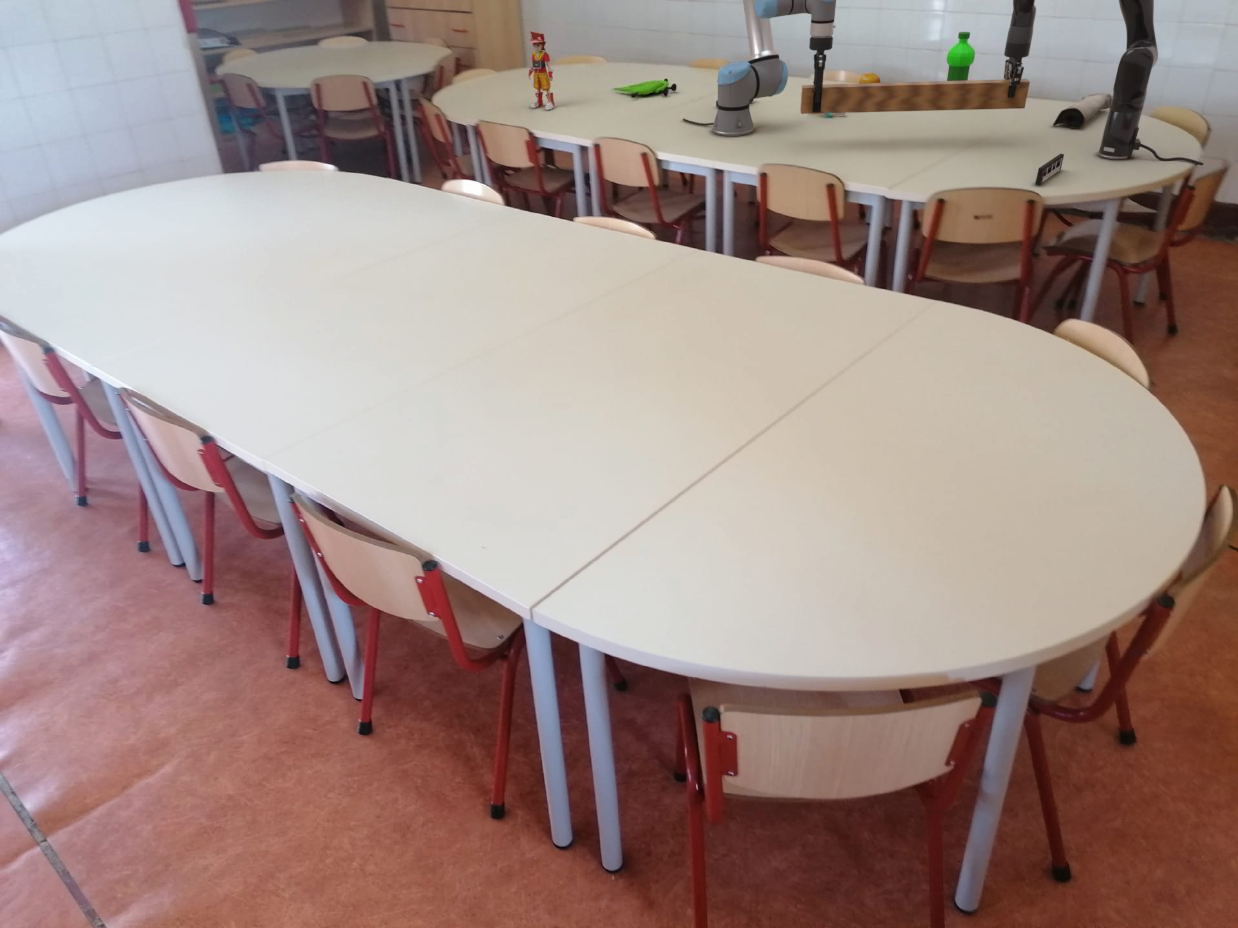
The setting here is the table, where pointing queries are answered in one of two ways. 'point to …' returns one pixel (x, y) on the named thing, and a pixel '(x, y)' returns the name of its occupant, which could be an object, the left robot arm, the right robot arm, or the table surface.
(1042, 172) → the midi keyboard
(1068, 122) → the rolled mat
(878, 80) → the fruit
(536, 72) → the toy
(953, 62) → the plastic bottle
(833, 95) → the wooden plank
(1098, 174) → the table surface
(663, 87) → the toy
